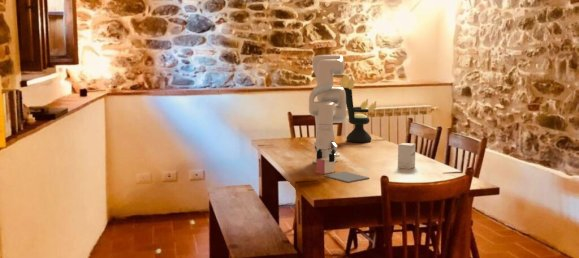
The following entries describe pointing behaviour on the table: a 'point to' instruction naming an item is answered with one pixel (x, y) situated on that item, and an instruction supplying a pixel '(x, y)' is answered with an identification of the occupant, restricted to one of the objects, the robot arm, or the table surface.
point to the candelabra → (357, 119)
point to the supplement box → (406, 155)
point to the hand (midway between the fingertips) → (325, 160)
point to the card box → (324, 166)
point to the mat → (346, 177)
